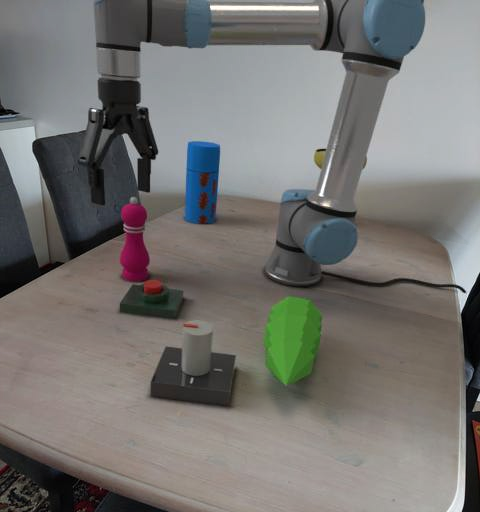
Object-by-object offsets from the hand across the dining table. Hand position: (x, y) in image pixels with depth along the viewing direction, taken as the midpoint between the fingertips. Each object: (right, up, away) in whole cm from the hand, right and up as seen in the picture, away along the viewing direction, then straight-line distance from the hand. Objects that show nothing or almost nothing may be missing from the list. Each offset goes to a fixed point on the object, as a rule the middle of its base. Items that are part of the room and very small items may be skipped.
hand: (122, 197), depth 94 cm
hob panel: (+16, -35, -11) cm, 40 cm away
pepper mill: (-3, -14, +24) cm, 28 cm away
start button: (+4, -18, +10) cm, 21 cm away
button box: (+4, -21, +12) cm, 25 cm away
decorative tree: (+32, -33, -4) cm, 46 cm away
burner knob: (+16, -33, -13) cm, 39 cm away
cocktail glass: (+56, +11, +81) cm, 99 cm away
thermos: (+10, +11, +71) cm, 72 cm away
